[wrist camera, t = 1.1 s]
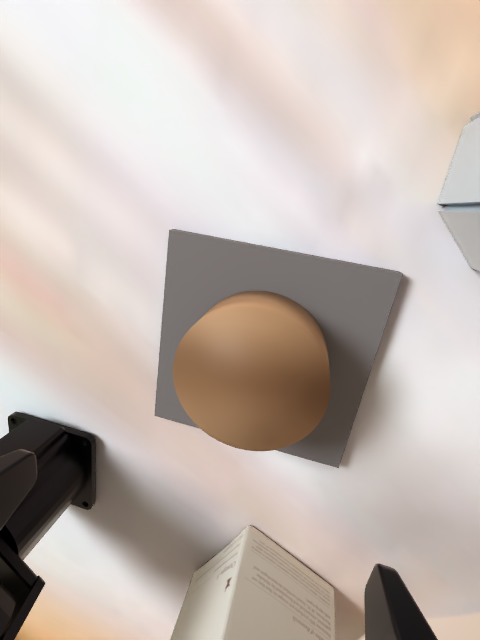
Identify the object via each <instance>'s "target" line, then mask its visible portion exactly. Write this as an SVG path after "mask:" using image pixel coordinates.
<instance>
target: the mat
mask: <svg viewBox="0 0 480 640" xmlns="http://www.w3.org/2000/svg"><path fill="white" fill-rule="evenodd" d="M401 278H402V273H401V272H399V271H393V270H388V269H383V268H377V267H372V266H367V265H361V264H356V263H351V262H345V261H340V260H335V259H330V258H324V257H319V256H314V255H308V254H303V253H298V252H292V251H287V250H282V249H276V248H271V247H266V246H261V245H255V244H250V243H245V242H239V241H234V240H229V239H223V238H218V237H213V236H207V235H202V234H197V233H192V232H186V231H181V230H176V229H172V230H169V239H168V252H167V265H166V277H165V290H164V303H163V315H162V328H161V341H160V353H159V366H158V378H157V391H156V404H155V416H158V417H161V418H165V419H168V420H172V421H175V422H179V423H182V424H186V425H189V426H193V427H196V428H199V427H198V426H197V425H196V424H195V423H194V422H193V420H192V419H191V418H190V417H189V416H188V414H187V413H186V411H185V410H184V408H183V407H182V405H181V403H180V401H179V399H178V396H177V393H176V390H175V386H174V381H173V363H174V357H175V353H176V350H177V348H178V346H179V344H180V341H181V340H182V338H183V337H184V335H185V334H186V333H187V331H188V330H189V329H190V328H191V327H192V326H193V325H194V324H195V323H196V322H197V321H198V320H199V319H201V318H202V317H203V316H204V315H205V314H206V313H207V312H208V311H209V310H210V309H211V308H212V307H213V306H214V305H216V304H217V303H218V302H220V301H221V300H223V299H225V298H226V297H229V296H231V295H233V294H236V293H240V292H245V291H268V292H273V293H277V294H280V295H283V296H285V297H288V298H290V299H292V300H293V301H295V302H297V303H298V304H300V305H301V306H302V307H304V308H305V309H306V310H307V311H308V312H309V313H310V314H311V315H312V316H313V317H314V319H315V320H316V321H317V323H318V324H319V326H320V328H321V330H322V332H323V334H324V337H325V339H326V343H327V347H328V358H329V371H330V385H331V386H330V398H329V403H328V406H327V409H326V412H325V414H324V416H323V417H322V419H321V421H320V422H319V424H318V425H317V426H316V428H315V429H314V430H313V431H312V432H311V433H309V434H308V435H307V436H306V437H304V438H303V439H302V440H300V441H298V442H296V443H294V444H292V445H290V446H287V447H284V448H281V449H276V450H277V451H281V452H284V453H288V454H291V455H295V456H298V457H302V458H305V459H309V460H312V461H316V462H319V463H323V464H326V465H330V466H333V467H337V468H339V465H340V462H341V459H342V456H343V453H344V450H345V447H346V444H347V441H348V438H349V435H350V432H351V429H352V426H353V422H354V419H355V416H356V413H357V410H358V407H359V404H360V401H361V398H362V395H363V392H364V389H365V386H366V383H367V380H368V377H369V374H370V371H371V368H372V365H373V362H374V359H375V356H376V353H377V350H378V347H379V344H380V341H381V338H382V335H383V332H384V329H385V326H386V323H387V320H388V317H389V314H390V311H391V308H392V305H393V302H394V299H395V296H396V293H397V290H398V287H399V284H400V281H401ZM200 429H201V428H200Z"/></svg>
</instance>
